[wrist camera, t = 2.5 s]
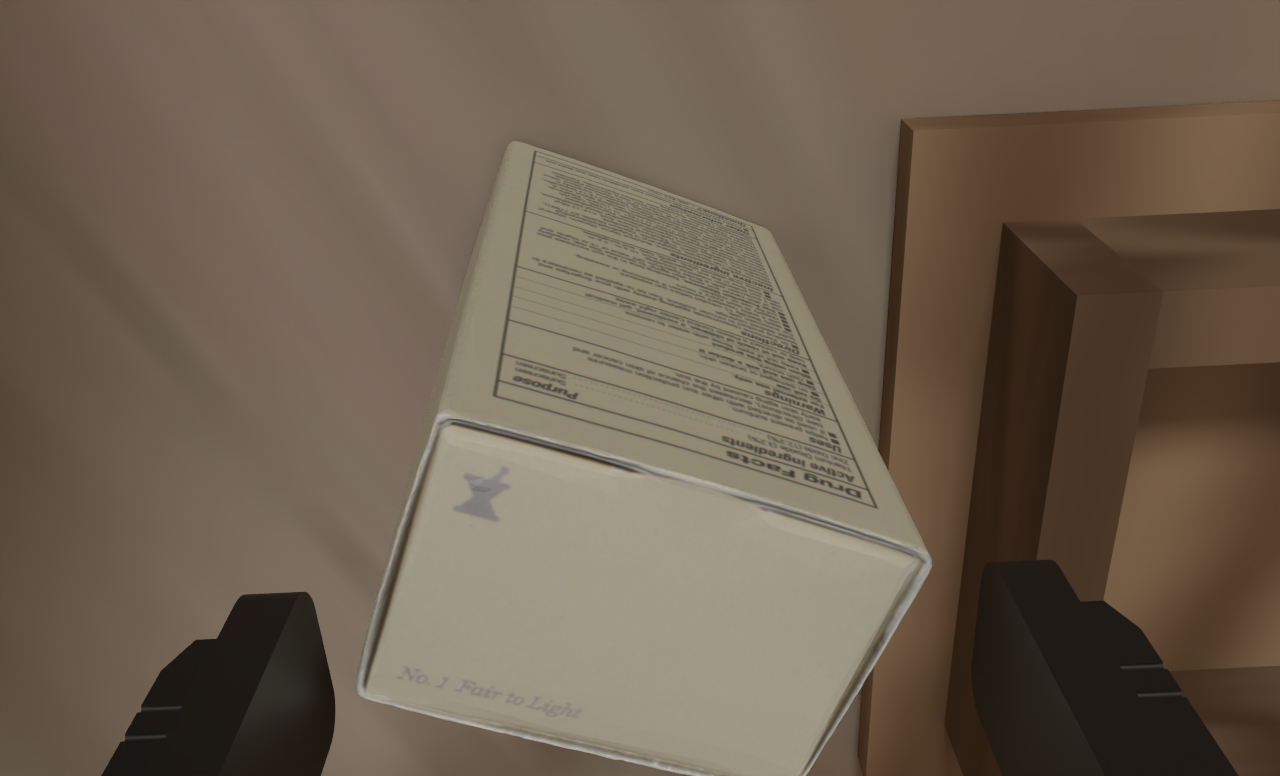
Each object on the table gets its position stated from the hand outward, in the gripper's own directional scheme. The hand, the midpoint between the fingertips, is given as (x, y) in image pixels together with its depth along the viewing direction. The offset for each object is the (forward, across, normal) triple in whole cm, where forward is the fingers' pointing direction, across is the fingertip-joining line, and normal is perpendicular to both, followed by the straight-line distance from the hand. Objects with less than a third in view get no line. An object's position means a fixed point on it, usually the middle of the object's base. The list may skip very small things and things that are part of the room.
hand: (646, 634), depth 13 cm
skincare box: (+12, 0, 0) cm, 12 cm away
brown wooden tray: (+12, -15, +6) cm, 20 cm away
